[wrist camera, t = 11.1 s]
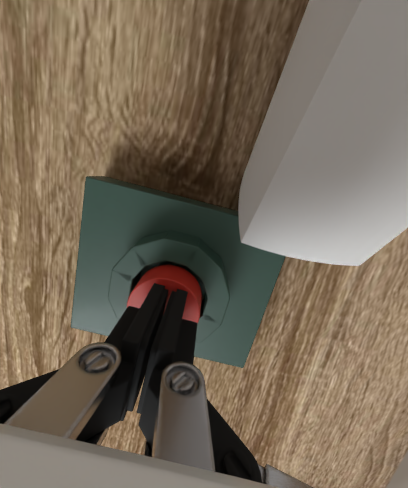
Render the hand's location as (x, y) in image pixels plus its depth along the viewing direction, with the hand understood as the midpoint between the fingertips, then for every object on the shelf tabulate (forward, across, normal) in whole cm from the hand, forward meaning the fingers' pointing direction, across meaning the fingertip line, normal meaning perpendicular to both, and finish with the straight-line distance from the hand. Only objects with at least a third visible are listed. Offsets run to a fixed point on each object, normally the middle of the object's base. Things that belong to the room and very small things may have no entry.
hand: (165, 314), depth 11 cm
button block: (+6, 0, 0) cm, 6 cm away
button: (+2, 0, 0) cm, 2 cm away
